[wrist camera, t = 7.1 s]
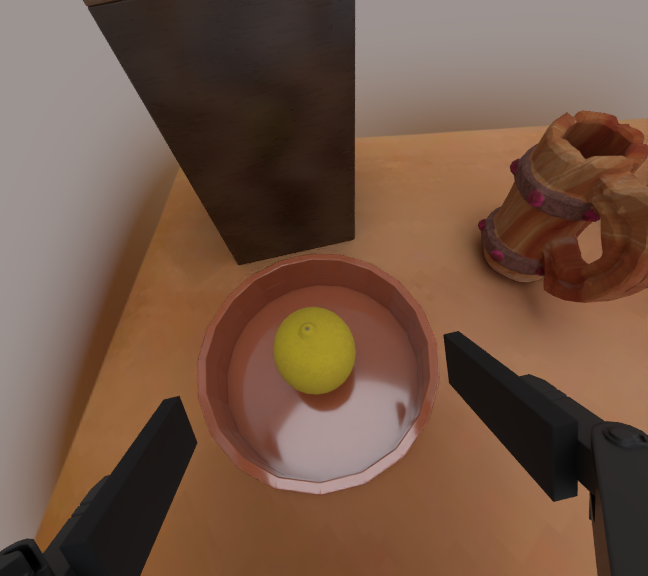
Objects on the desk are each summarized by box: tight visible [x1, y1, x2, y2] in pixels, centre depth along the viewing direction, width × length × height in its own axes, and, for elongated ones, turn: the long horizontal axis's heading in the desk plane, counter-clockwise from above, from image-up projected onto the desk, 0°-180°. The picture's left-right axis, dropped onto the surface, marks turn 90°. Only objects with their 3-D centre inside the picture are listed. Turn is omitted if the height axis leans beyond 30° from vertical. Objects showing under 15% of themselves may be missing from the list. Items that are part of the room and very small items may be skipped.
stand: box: [88, 0, 355, 265], centre depth 25 cm, size 12×12×20 cm
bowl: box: [198, 254, 439, 495], centre depth 23 cm, size 16×16×4 cm
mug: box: [478, 111, 648, 303], centre depth 22 cm, size 12×7×13 cm, turn 2°
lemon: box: [273, 307, 356, 395], centre depth 21 cm, size 6×6×8 cm
